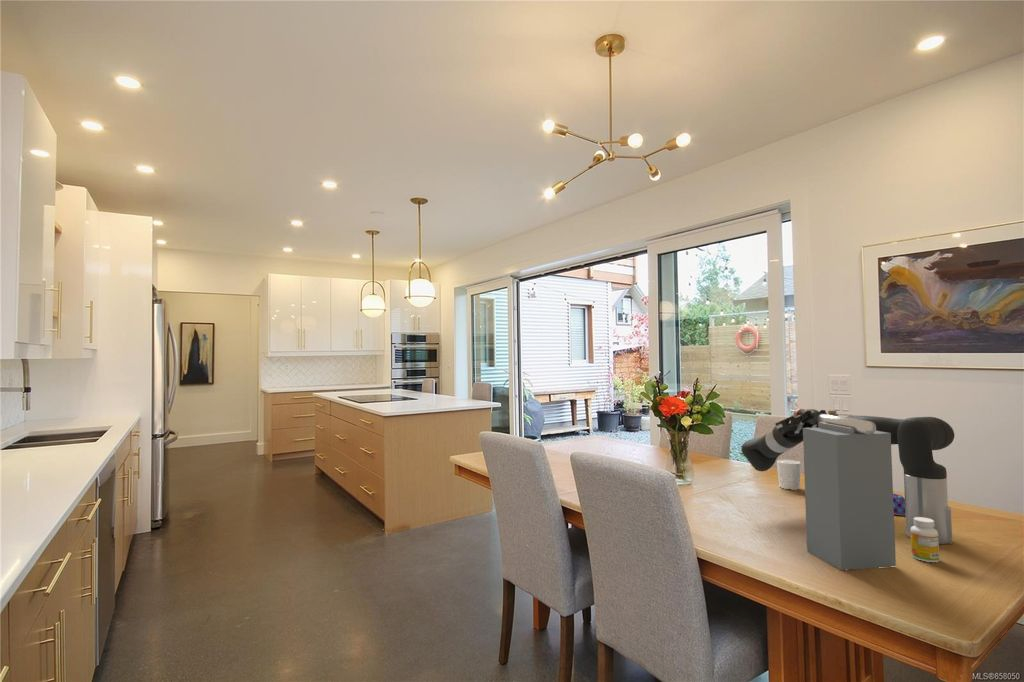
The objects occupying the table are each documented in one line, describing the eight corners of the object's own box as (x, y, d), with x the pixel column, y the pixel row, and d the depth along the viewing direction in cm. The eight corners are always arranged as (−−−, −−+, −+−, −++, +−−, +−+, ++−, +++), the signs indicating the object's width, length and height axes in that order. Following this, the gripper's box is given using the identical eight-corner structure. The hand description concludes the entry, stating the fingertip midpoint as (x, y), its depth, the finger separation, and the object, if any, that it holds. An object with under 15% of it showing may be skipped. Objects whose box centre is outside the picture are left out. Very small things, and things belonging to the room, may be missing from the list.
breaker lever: (793, 422, 143) (793, 409, 143) (806, 421, 144) (805, 408, 144) (863, 436, 118) (862, 420, 119) (877, 435, 119) (877, 419, 119)
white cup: (772, 486, 194) (772, 460, 195) (788, 484, 197) (788, 458, 197) (789, 491, 187) (788, 464, 187) (806, 489, 189) (805, 462, 189)
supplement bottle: (911, 552, 129) (910, 514, 129) (939, 558, 125) (937, 518, 126) (911, 559, 125) (909, 520, 125) (939, 565, 121) (938, 524, 121)
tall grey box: (807, 551, 131) (802, 422, 132) (856, 548, 132) (852, 421, 133) (841, 570, 119) (836, 429, 120) (895, 567, 120) (890, 427, 121)
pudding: (862, 509, 166) (861, 493, 166) (884, 504, 171) (884, 488, 171) (902, 519, 155) (901, 502, 155) (925, 514, 160) (924, 497, 160)
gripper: (758, 425, 152) (788, 401, 137) (801, 424, 153) (837, 400, 139) (766, 449, 148) (798, 427, 133) (811, 447, 149) (848, 425, 135)
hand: (818, 413), depth 136 cm, fingers closed on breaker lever, 3 cm apart
